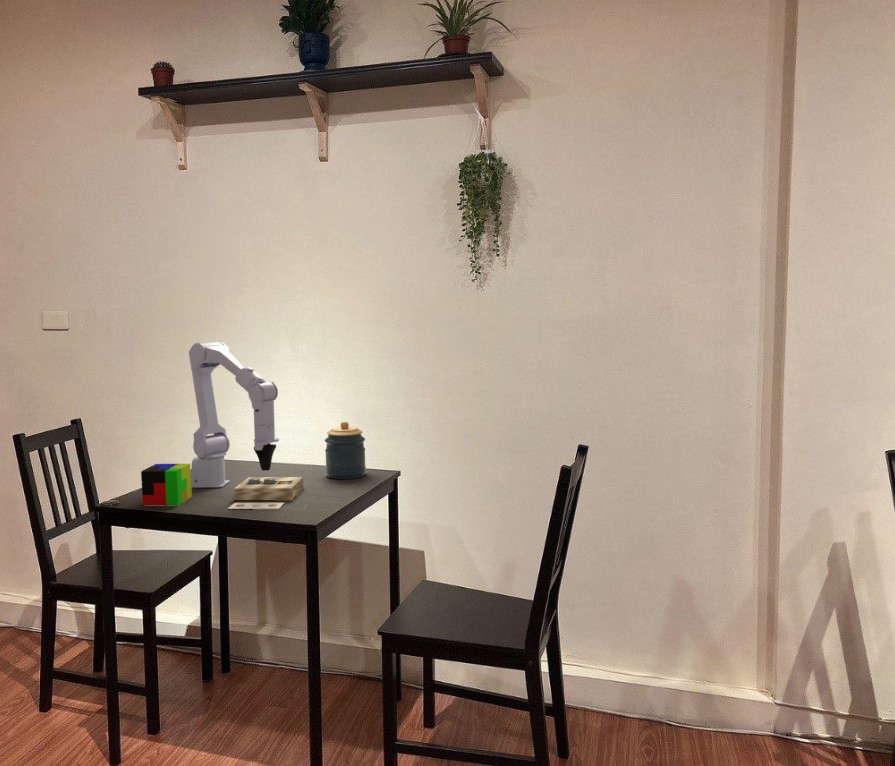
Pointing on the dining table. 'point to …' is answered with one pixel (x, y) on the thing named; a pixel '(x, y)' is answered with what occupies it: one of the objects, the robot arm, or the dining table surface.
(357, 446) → the canister
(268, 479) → the middle button
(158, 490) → the puzzle toy
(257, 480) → the left button
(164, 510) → the dining table surface
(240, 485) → the button board
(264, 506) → the card
